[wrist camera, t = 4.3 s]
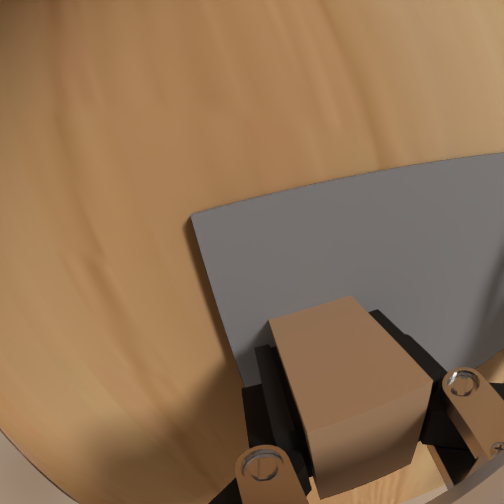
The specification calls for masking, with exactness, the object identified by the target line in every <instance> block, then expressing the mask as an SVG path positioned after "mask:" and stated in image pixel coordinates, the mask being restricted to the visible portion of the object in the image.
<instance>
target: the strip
mask: <svg viewBox="0 0 504 504" xmlns="http://www.w3.org/2000/svg"><path fill="white" fill-rule="evenodd" d="M191 219H192V223H193V226H194V230H195V233H196V237H197V240H198V244H199V247H200V251H201V254H202V258H203V261H204V264H205V268H206V271H207V274H208V278H209V281H210V284H211V287H212V291H213V294H214V297H215V300H216V303H217V306H218V310H219V313H220V316H221V319H222V322H223V325H224V328H225V331H226V334H227V337H228V340H229V343H230V346H231V349H232V352H233V355H234V358H235V361H236V364H237V366H238V369H239V372H240V375H241V378H242V381H243V383H244V386H245V387H249V386H253V385H257V384H261V383H262V382H261V378H260V373H259V369H258V364H257V359H256V355H255V350H254V348H255V347H259V346H262V345H266V344H269V345H270V348H271V347H274V346H276V347H277V350H278V353H279V356H280V359H281V362H282V365H283V368H284V371H285V374H286V377H287V380H288V383H289V386H290V389H291V392H292V395H293V398H294V401H295V403H296V406H297V409H298V412H299V415H300V418H301V421H302V425H303V428H304V432H305V437H306V441H307V446H308V451H309V456H310V460H311V465H312V470H313V475H314V476H313V479H314V482H315V485H316V488H317V491H318V494H319V497H320V500H321V499H324V498H327V497H330V496H334V495H337V494H340V493H343V492H345V491H348V490H351V489H354V488H356V487H359V486H362V485H364V484H367V483H369V482H372V481H374V480H376V479H379V478H381V477H383V476H386V475H388V474H390V473H392V472H394V471H397V470H399V469H401V468H403V467H405V466H407V465H409V464H411V461H412V458H413V455H414V452H415V449H416V446H417V443H418V439H419V436H420V433H421V429H422V426H423V422H424V418H425V414H426V410H427V406H428V402H429V397H430V393H431V388H432V383H433V380H432V379H431V378H430V377H429V376H428V374H427V373H426V372H425V371H424V370H423V369H422V368H421V367H420V366H419V365H418V364H417V363H416V362H415V361H414V360H413V358H412V357H411V356H410V355H409V354H408V353H407V352H406V351H405V350H404V349H403V348H402V347H401V346H400V345H399V344H398V343H397V342H396V341H395V340H394V339H393V338H392V337H391V336H390V334H389V333H388V332H387V331H386V330H385V329H384V328H383V327H382V326H381V325H380V324H379V323H378V322H377V321H376V320H375V319H374V318H373V317H372V316H371V315H370V314H369V313H368V312H370V311H373V310H376V309H378V310H380V311H381V312H382V313H383V314H384V315H385V316H386V317H387V318H388V319H389V320H390V321H391V322H392V323H393V324H394V325H396V326H397V327H398V328H399V329H400V330H401V331H402V332H403V333H404V334H408V335H410V336H411V337H412V338H413V339H414V340H415V341H416V342H417V343H418V344H419V345H420V346H422V347H423V348H424V349H425V350H426V351H427V352H428V353H429V354H430V355H431V356H432V357H433V358H434V359H435V360H436V361H437V362H438V363H439V364H440V365H441V366H442V367H443V368H444V369H445V370H446V371H447V372H450V371H451V370H453V369H456V368H459V367H468V368H472V369H476V368H477V367H479V366H480V365H482V364H483V363H484V362H486V361H487V360H489V359H490V358H492V357H493V356H494V355H496V354H497V353H498V352H500V351H501V350H502V349H504V152H503V153H494V154H485V155H477V156H469V157H462V158H454V159H447V160H440V161H434V162H427V163H421V164H414V165H408V166H402V167H397V168H391V169H385V170H380V171H374V172H369V173H364V174H358V175H353V176H348V177H343V178H338V179H333V180H328V181H324V182H319V183H314V184H310V185H305V186H301V187H296V188H292V189H287V190H283V191H279V192H274V193H270V194H266V195H262V196H258V197H253V198H249V199H245V200H241V201H237V202H233V203H230V204H226V205H222V206H218V207H214V208H210V209H207V210H203V211H199V212H196V213H192V214H191Z"/></svg>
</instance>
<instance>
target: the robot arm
mask: <svg viewBox="0 0 504 504" xmlns="http://www.w3.org/2000/svg"><path fill="white" fill-rule="evenodd" d="M368 313H369V314H370V315H371V316H372V317H373V318H374V319H375V320H376V321H377V322H378V323H379V324H380V325H381V326H382V327H383V328H384V329H385V330H386V331H387V332H388V333H389V334H390V336H391V337H392V338H393V339H394V340H395V341H396V342H397V343H398V344H399V345H400V346H401V347H402V348H403V349H404V350H405V351H406V352H407V353H408V354H409V355H410V356H411V357H412V358H413V360H414V361H415V362H416V363H417V364H418V365H419V366H420V367H421V368H422V369H423V370H424V371H425V372H426V373H427V374H428V376H429V377H430V378H431V379H432V380H433V383H432V388H431V393H430V397H429V402H428V406H427V410H426V414H425V418H424V422H423V426H422V429H421V433H420V436H419V439H418V442H419V441H421V442H422V444H426V445H427V448H428V450H429V452H430V454H431V456H432V458H433V460H434V462H435V464H436V466H437V468H438V470H439V472H440V474H441V476H442V478H443V480H444V482H445V485H446V487H447V489H448V491H446V492H444V493H443V494H441V495H439V496H438V497H436V498H435V499H433V500H431V501H429V502H427V503H426V504H504V383H488V382H487V380H486V379H485V378H484V377H483V376H482V375H481V374H480V373H479V372H478V371H477V370H475V369H472V368H468V367H459V368H456V369H453V370H451V371H450V372H447V371H446V370H445V369H444V368H443V367H442V366H441V365H440V364H439V363H438V362H437V361H436V360H435V359H434V358H433V357H432V356H431V355H430V354H429V353H428V352H427V351H426V350H425V349H424V348H423V347H422V346H420V345H419V344H418V343H417V342H416V341H415V340H414V339H413V338H412V337H411V336H410V335H408V334H404V333H403V332H402V331H401V330H400V329H399V328H398V327H397V326H396V325H394V324H393V323H392V322H391V321H390V320H389V319H388V318H387V317H386V316H385V315H384V314H383V313H382V312H381V311H380V310H378V309H376V310H373V311H370V312H368ZM254 350H255V355H256V359H257V364H258V369H259V373H260V378H261V382H262V383H261V384H257V385H253V386H249V387H245V388H242V397H243V404H244V412H245V419H246V426H247V434H248V441H249V448H250V449H248V450H247V451H245V452H244V453H242V454H241V456H240V457H239V458H238V459H237V461H236V464H235V475H236V478H235V479H234V480H233V481H232V482H231V483H230V484H229V485H228V486H227V487H226V488H224V489H223V490H222V491H221V492H220V493H219V494H218V495H217V496H216V497H215V498H214V499H213V500H212V501H211V502H210V503H209V504H309V503H308V500H307V498H306V496H307V495H308V494H309V492H310V491H311V490H312V489H311V485H310V481H309V477H312V476H314V475H313V470H312V465H311V460H310V456H309V451H308V446H307V441H306V437H305V432H304V428H303V425H302V421H301V418H300V415H299V412H298V409H297V406H296V403H295V401H294V398H293V395H292V392H291V389H290V386H289V383H288V380H287V377H286V374H285V371H284V368H283V365H282V362H281V359H280V356H279V353H278V350H277V347H276V346H274V347H271V348H270V345H269V344H266V345H262V346H259V347H255V348H254Z"/></svg>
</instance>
